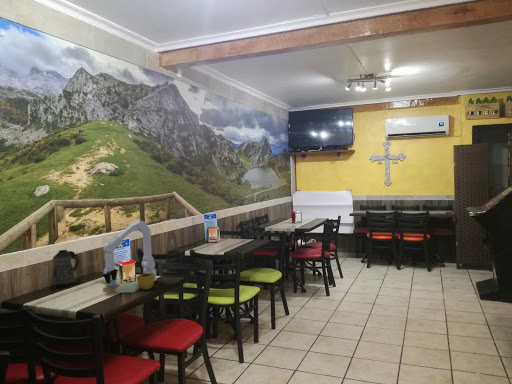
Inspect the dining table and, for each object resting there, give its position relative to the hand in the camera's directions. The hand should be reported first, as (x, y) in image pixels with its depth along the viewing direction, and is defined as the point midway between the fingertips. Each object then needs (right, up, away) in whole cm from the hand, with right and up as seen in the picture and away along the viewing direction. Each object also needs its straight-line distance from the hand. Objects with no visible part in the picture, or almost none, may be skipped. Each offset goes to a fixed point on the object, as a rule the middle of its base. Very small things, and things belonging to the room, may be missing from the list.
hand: (111, 282), depth 260 cm
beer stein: (-41, -7, +22) cm, 47 cm away
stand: (0, -6, 0) cm, 6 cm away
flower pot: (+24, -4, 0) cm, 24 cm away
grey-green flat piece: (+12, -5, -1) cm, 13 cm away
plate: (0, -6, 0) cm, 6 cm away
